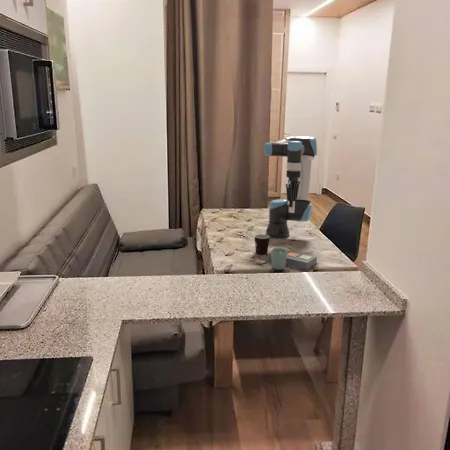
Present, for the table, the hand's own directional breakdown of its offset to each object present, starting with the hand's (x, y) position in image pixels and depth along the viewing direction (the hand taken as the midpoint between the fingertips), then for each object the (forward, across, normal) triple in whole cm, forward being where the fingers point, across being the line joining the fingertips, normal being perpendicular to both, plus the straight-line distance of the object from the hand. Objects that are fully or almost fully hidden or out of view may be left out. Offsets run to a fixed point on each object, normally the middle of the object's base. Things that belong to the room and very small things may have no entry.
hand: (291, 212), depth 249 cm
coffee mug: (+25, +7, -14) cm, 29 cm away
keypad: (+24, +12, +8) cm, 28 cm away
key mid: (+24, +12, +8) cm, 28 cm away
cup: (+25, +24, +6) cm, 35 cm away
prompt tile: (+24, +22, -6) cm, 33 cm away
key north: (+24, +11, +15) cm, 30 cm away
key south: (+22, +12, 0) cm, 25 cm away
